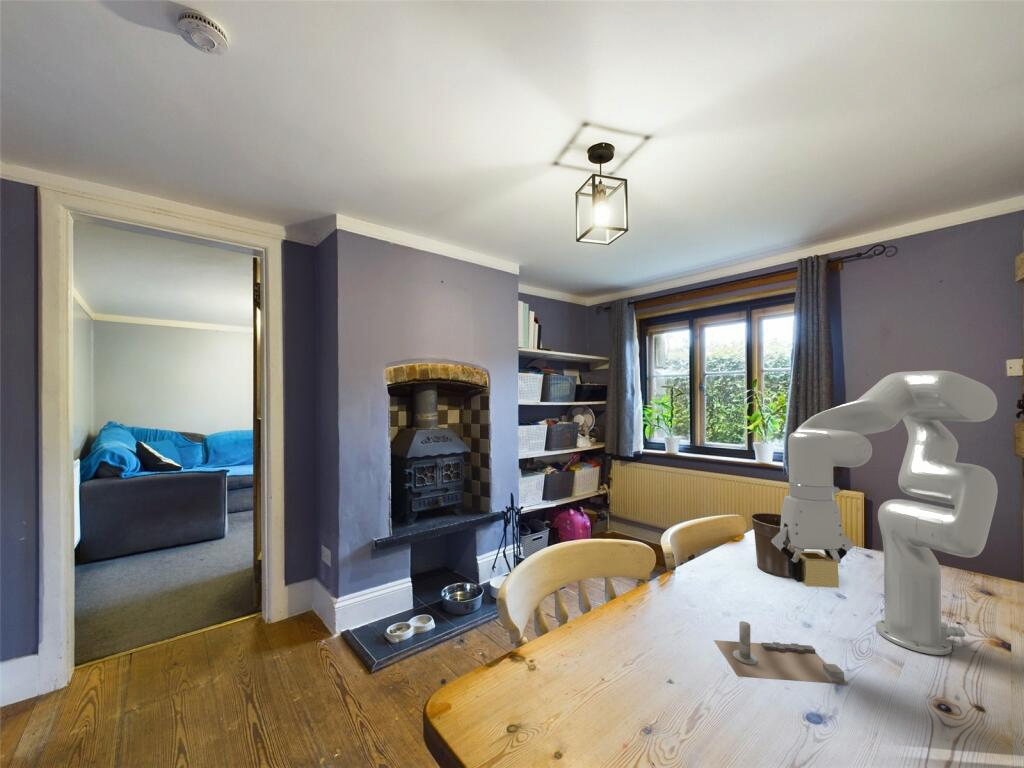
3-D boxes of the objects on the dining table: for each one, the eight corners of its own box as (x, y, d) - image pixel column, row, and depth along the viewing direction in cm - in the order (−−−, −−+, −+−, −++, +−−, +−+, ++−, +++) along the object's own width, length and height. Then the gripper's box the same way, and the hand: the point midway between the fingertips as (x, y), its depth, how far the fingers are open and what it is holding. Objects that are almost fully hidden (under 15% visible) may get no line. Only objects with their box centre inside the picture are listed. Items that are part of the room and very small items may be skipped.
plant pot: (823, 582, 126) (823, 528, 127) (769, 581, 126) (769, 527, 127) (788, 560, 142) (788, 513, 143) (740, 560, 143) (740, 512, 143)
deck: (809, 652, 91) (809, 613, 91) (848, 690, 79) (847, 646, 79) (713, 645, 93) (713, 608, 93) (737, 682, 81) (737, 639, 81)
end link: (819, 575, 89) (818, 551, 89) (838, 587, 83) (837, 561, 83) (789, 574, 89) (788, 550, 89) (806, 586, 83) (805, 560, 84)
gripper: (842, 488, 89) (844, 573, 89) (758, 487, 91) (759, 570, 91) (869, 497, 82) (871, 590, 82) (776, 495, 84) (778, 587, 83)
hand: (812, 579), depth 86 cm, fingers closed on end link, 6 cm apart
